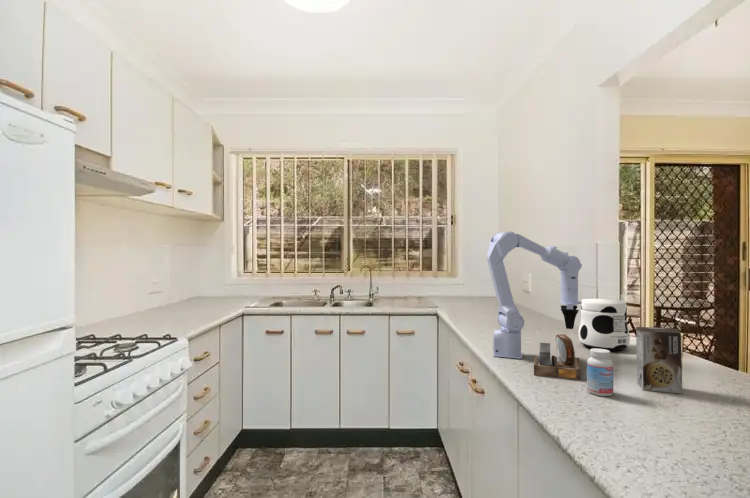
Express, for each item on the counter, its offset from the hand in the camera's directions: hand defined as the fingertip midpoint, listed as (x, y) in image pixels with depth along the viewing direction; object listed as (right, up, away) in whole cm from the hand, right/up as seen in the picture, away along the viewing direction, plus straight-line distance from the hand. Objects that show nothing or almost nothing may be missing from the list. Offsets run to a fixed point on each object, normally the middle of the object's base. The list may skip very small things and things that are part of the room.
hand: (569, 326), depth 148 cm
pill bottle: (-11, -10, -40) cm, 42 cm away
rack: (-13, -10, -20) cm, 26 cm away
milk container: (+18, -10, +10) cm, 23 cm away
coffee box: (+7, -10, -36) cm, 38 cm away
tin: (-6, -10, -9) cm, 15 cm away
